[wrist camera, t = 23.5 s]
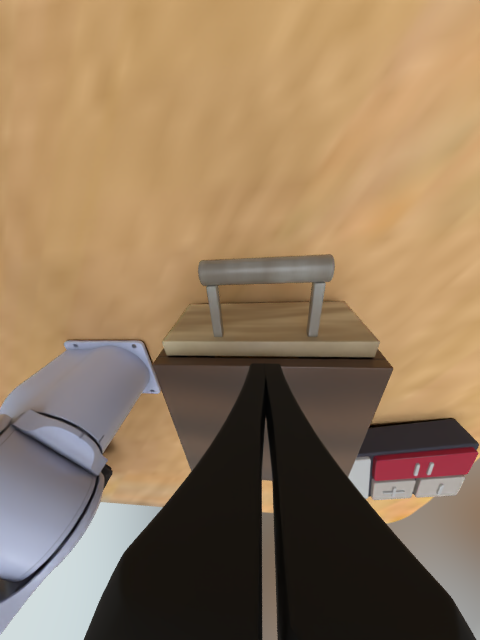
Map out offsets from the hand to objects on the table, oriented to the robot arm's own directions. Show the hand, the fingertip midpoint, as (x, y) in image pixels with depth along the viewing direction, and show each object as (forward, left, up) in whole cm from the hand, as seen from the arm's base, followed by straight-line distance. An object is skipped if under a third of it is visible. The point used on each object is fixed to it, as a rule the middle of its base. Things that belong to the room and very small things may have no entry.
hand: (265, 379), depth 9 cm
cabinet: (0, -9, -10) cm, 13 cm away
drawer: (0, -4, -9) cm, 10 cm away
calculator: (+16, -23, -10) cm, 29 cm away
